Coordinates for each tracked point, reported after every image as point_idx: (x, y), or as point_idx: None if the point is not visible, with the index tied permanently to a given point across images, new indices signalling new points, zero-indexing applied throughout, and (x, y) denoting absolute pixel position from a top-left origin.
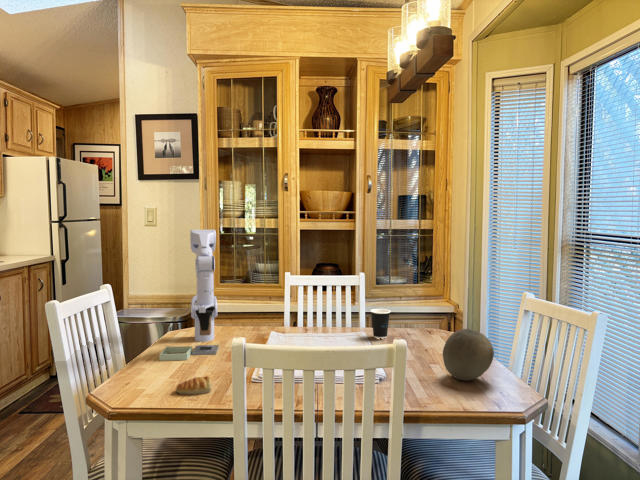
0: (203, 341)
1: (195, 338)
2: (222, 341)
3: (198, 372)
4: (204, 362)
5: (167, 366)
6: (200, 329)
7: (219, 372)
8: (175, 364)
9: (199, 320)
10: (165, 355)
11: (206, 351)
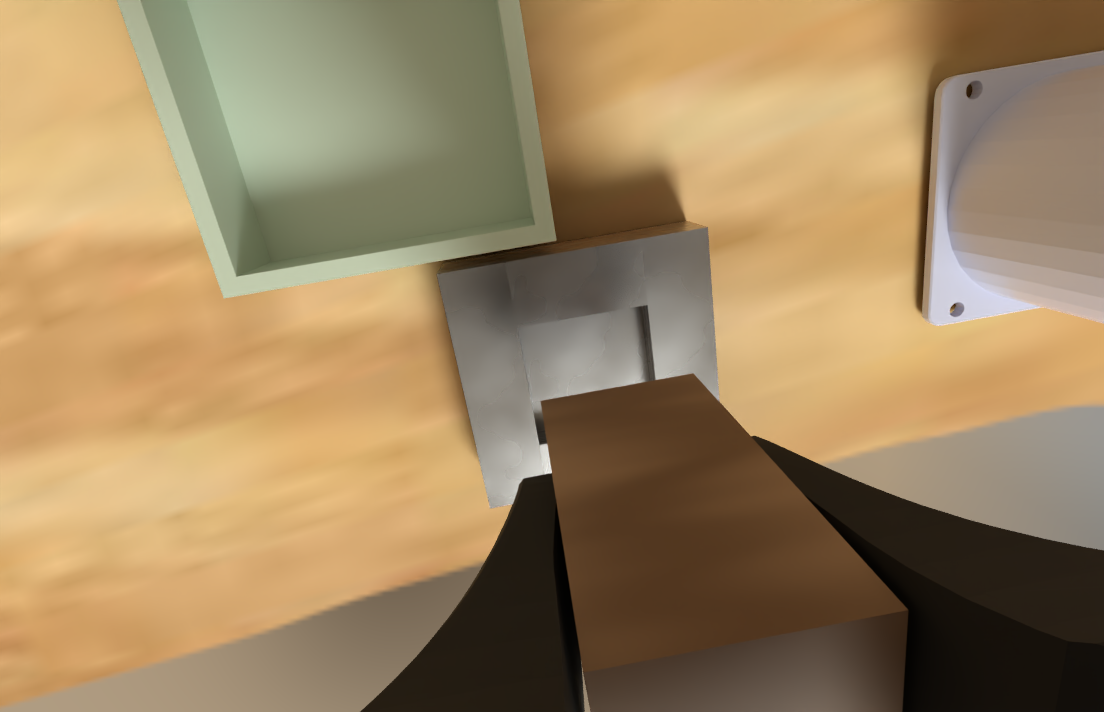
0: (958, 217)
1: (1044, 94)
2: (1016, 376)
3: (38, 474)
4: (324, 430)
5: (94, 98)
6: (551, 456)
7: (103, 624)
8: None
9: (462, 605)
10: (127, 1)
11: (478, 422)
